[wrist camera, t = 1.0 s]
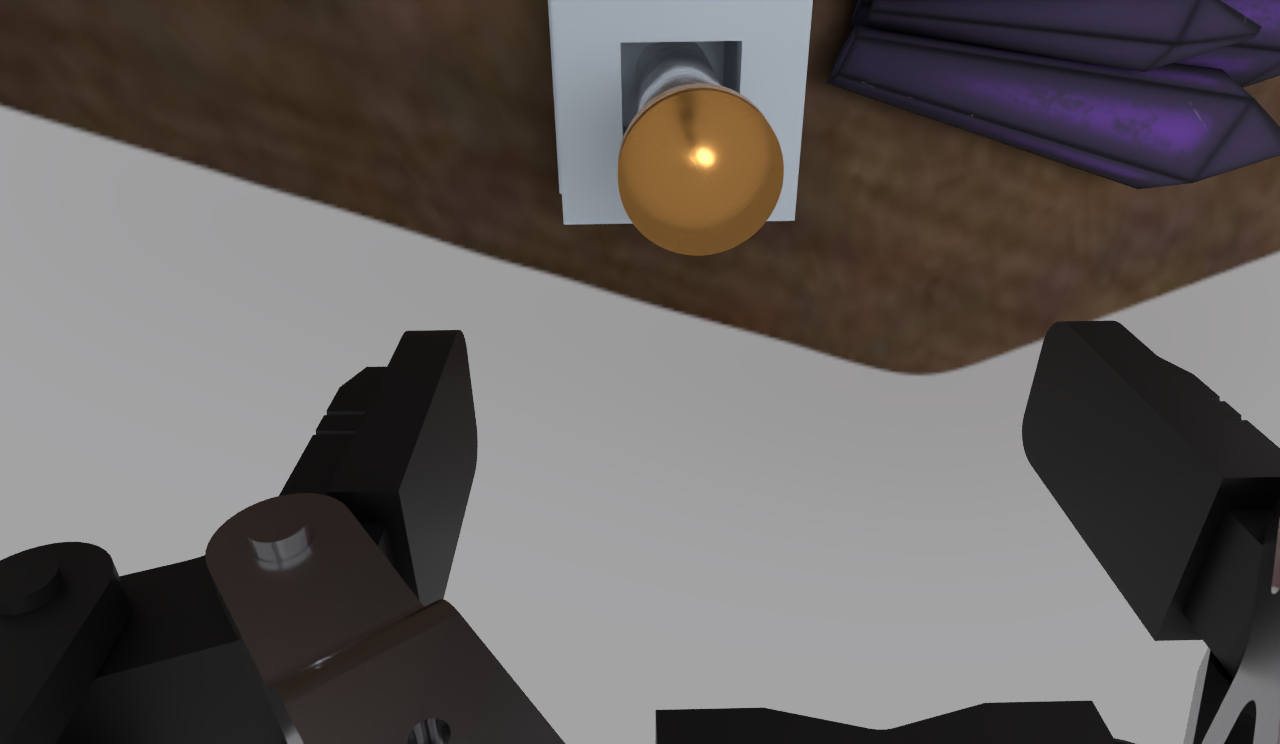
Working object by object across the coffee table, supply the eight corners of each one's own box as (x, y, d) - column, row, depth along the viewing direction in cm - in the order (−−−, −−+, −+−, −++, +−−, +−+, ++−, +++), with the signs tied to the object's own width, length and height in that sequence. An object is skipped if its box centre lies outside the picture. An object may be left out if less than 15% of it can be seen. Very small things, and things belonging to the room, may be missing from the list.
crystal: (829, 186, 29) (1434, 229, 28) (890, -220, 24) (1615, -179, 23) (804, 152, 35) (1294, 187, 34) (848, -172, 30) (1414, -139, 30)
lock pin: (617, 18, 31) (615, 93, 19) (728, 16, 31) (790, 90, 19) (620, 129, 33) (619, 256, 21) (724, 127, 33) (778, 254, 21)
